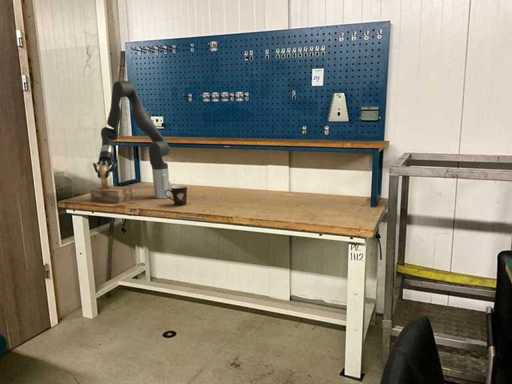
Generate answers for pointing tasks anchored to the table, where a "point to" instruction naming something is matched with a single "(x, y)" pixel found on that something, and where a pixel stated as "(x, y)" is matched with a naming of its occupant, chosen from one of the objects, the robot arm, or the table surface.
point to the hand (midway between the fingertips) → (102, 177)
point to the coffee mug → (178, 195)
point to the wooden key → (103, 177)
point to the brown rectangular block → (111, 194)
